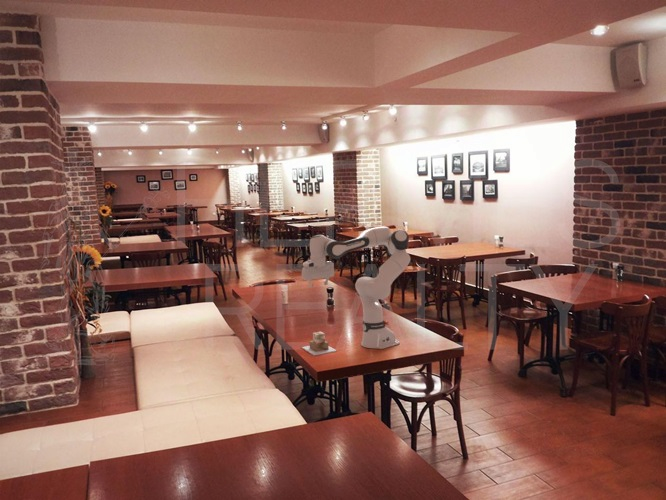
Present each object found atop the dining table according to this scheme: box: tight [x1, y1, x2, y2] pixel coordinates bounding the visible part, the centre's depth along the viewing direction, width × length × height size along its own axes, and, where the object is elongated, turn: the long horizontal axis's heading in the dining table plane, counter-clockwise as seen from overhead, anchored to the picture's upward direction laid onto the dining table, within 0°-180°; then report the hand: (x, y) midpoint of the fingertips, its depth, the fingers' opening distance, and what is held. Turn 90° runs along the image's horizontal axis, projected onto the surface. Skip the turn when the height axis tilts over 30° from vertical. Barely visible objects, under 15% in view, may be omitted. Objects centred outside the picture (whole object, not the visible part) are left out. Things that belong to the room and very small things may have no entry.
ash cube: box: [312, 331, 326, 344], centre depth 297 cm, size 5×5×5 cm
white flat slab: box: [301, 345, 338, 357], centre depth 298 cm, size 14×16×1 cm
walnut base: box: [308, 340, 329, 352], centre depth 298 cm, size 8×8×4 cm
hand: (318, 285), depth 311 cm, fingers open, 8 cm apart
